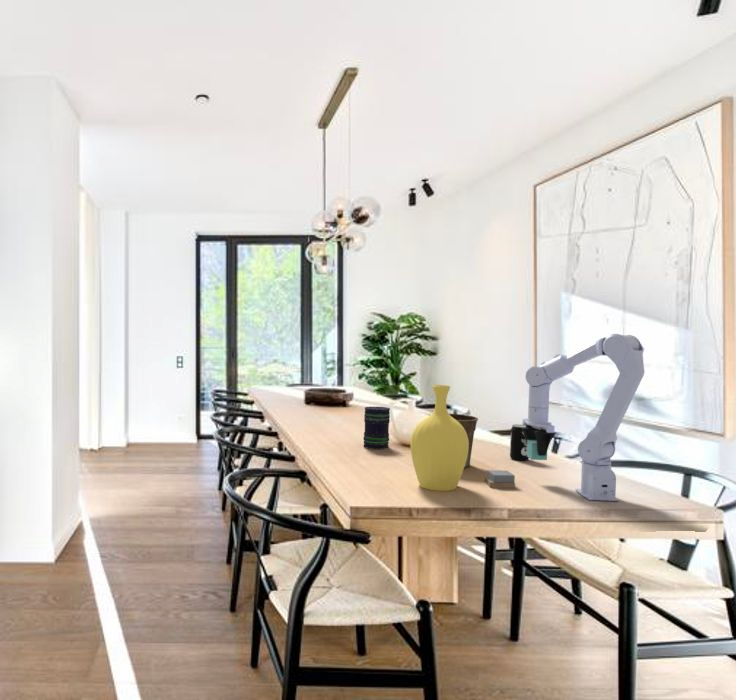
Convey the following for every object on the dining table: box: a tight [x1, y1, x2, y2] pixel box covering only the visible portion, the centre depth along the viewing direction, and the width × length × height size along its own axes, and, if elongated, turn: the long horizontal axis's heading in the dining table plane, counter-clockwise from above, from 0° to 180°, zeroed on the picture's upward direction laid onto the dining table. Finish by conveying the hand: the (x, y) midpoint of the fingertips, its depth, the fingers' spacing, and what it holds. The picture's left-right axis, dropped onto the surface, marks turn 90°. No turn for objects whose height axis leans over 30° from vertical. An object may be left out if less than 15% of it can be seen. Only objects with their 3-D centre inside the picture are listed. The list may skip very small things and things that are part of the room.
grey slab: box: [486, 469, 516, 483], centre depth 151 cm, size 6×6×2 cm
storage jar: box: [363, 406, 391, 450], centre depth 202 cm, size 10×10×15 cm
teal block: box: [527, 440, 548, 461], centre depth 156 cm, size 4×4×5 cm
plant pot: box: [429, 413, 479, 469], centre depth 175 cm, size 16×16×16 cm
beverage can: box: [509, 424, 530, 462], centre depth 188 cm, size 7×7×12 cm
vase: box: [410, 384, 469, 492], centre depth 147 cm, size 16×16×28 cm
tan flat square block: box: [484, 475, 516, 489], centre depth 151 cm, size 7×7×2 cm
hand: (536, 453), depth 156 cm, fingers closed on teal block, 5 cm apart
